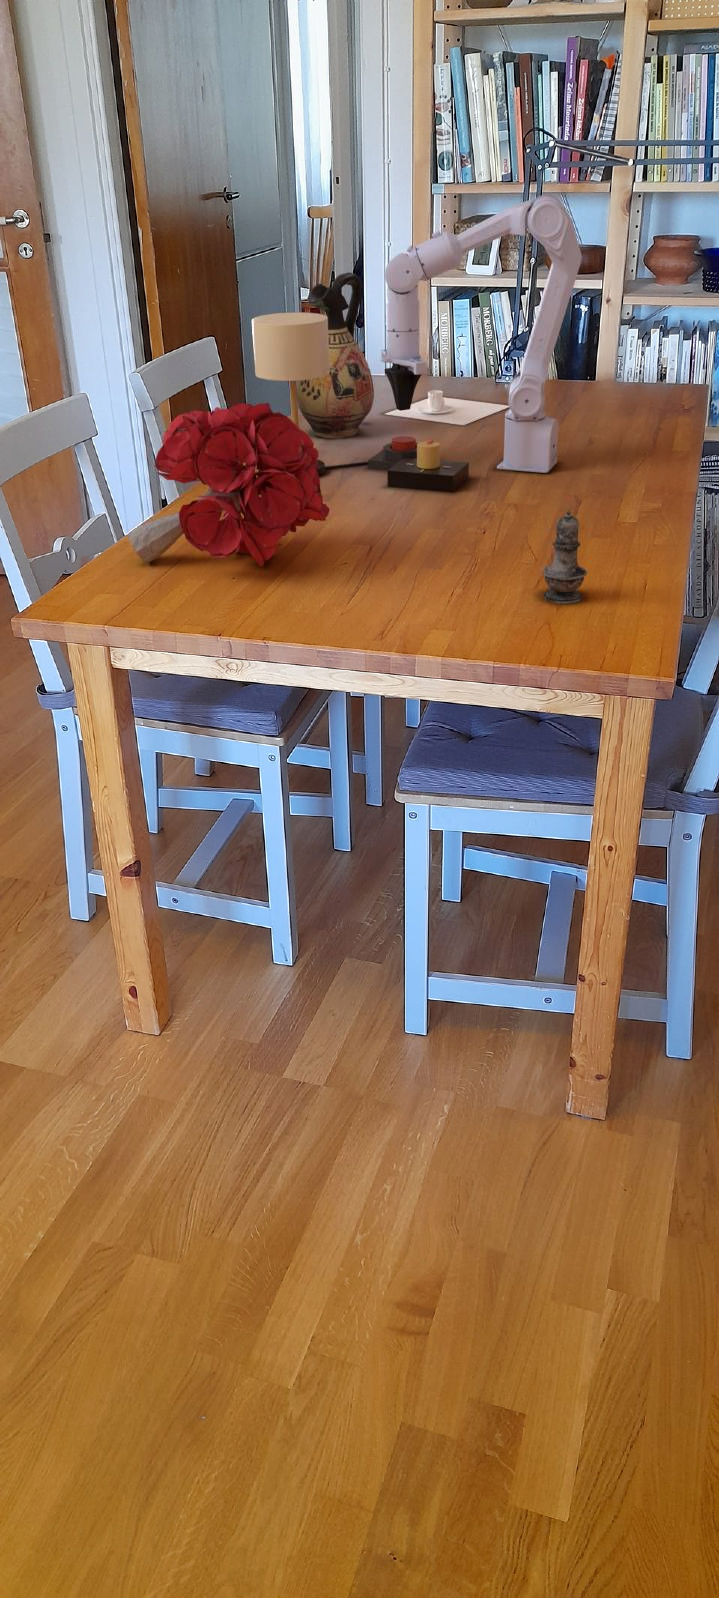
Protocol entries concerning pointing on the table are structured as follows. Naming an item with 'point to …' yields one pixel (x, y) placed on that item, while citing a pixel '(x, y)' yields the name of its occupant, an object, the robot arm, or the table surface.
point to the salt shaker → (565, 564)
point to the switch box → (390, 457)
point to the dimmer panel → (428, 476)
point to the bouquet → (236, 483)
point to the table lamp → (293, 354)
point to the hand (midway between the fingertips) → (403, 409)
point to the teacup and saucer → (448, 409)
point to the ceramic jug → (338, 367)
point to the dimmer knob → (428, 454)
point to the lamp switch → (403, 443)
